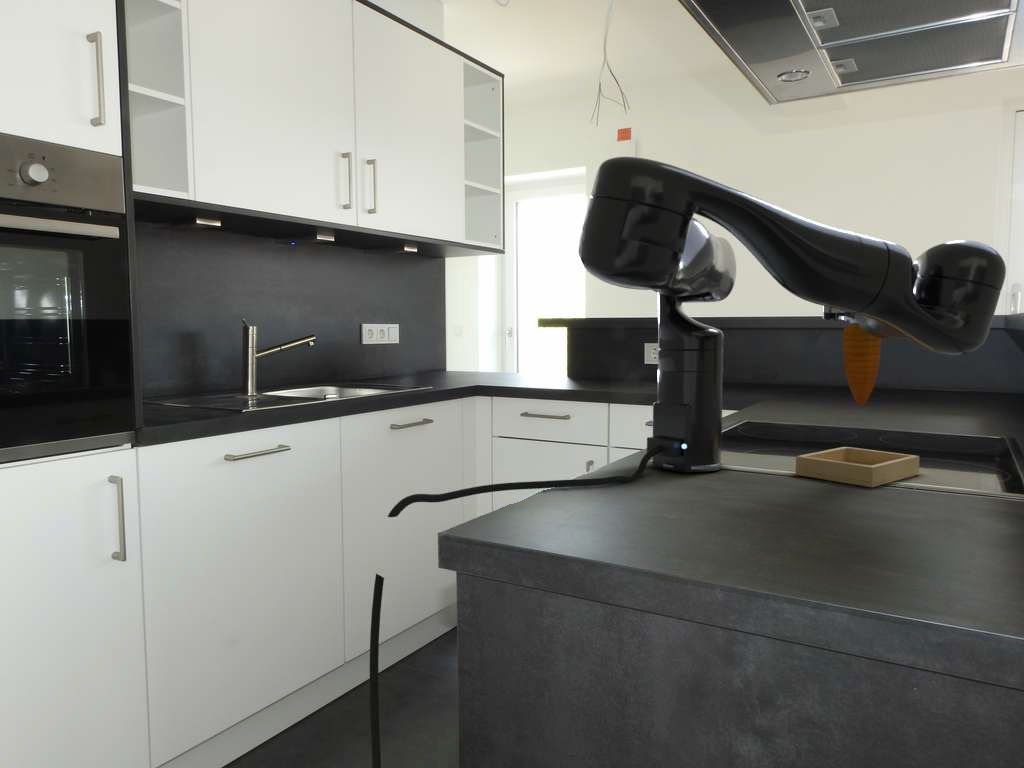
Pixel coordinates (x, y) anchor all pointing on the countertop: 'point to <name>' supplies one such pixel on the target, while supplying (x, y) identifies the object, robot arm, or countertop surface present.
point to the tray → (857, 466)
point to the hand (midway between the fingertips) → (859, 311)
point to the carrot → (860, 361)
